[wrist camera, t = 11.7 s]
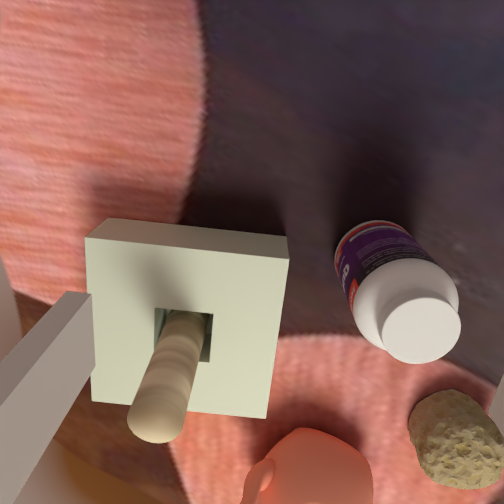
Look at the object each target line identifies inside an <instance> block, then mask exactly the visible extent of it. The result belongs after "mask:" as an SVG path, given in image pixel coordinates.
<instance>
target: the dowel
mask: <svg viewBox="0 0 504 504" xmlns="http://www.w3.org/2000/svg"><path fill="white" fill-rule="evenodd" d="M209 316H210V313H202V312H192V311H183V310H174V309H171V311H170V314H169V316H168V318H167V321H166V323H165V326H164V328H163V330H162V333H161V335H160V338H159V340H158V342H157V345H156V347H155V350H154V352H153V354H152V357H151V359H150V362H149V364H148V367H147V369H146V371H145V374H144V376H143V379H142V381H141V383H140V386H139V388H138V391H137V393H136V395H135V398H134V400H133V403H132V405H131V407H130V410H129V412H128V415H127V422H128V425H129V428H130V429H131V431H132V432H133V433H134V434H135V435H136V436H138V437H139V438H141V439H143V440H145V441H148V442H152V443H164V442H168V441H171V440H173V439H175V438H176V437H177V436H178V435H179V434H180V432H181V431H182V428H183V424H184V420H185V415H186V411H187V407H188V403H189V399H190V395H191V390H192V386H193V382H194V378H195V374H196V370H197V366H198V361H199V357H200V353H201V349H202V345H203V341H204V337H205V332H206V328H207V324H208V320H209Z"/></svg>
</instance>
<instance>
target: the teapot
mask: <svg viewBox="0 0 504 504" xmlns="http://www.w3.org/2000/svg"><path fill="white" fill-rule="evenodd" d="M240 504H373V479H372V473H371V469H370V465H369V463H368V461H367V460H366V458H365V457H364V456H363V455H362V454H361V453H360V452H359V451H357V450H356V449H355V448H353V447H352V446H351V445H349V444H347V443H346V442H344V441H342V440H340V439H338V438H336V437H334V436H332V435H330V434H327V433H325V432H322V431H319V430H316V429H312V428H304V427H297V428H295V429H293V430H292V432H291V433H289V434H288V435H286V436H285V437H284V438H283V439H281V440H280V441H279V442H278V443H277V444H276V445H275V446H274V447H273V448H272V449H271V450H270V451H269V452H268V454H267V455H266V457H265V458H264V459H263V460H262V461H260V462H258V463H257V464H255V465H254V466H253V467H252V468H251V470H250V471H249V473H248V474H247V477H246V479H245V483H244V490H243V498H242V501H241V503H240Z"/></svg>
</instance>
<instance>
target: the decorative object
mask: <svg viewBox="0 0 504 504" xmlns="http://www.w3.org/2000/svg"><path fill="white" fill-rule="evenodd" d="M408 430H409V435H410V441H411V442H412V444H413V445H414V446H415V448H416V452H417V457H418V460H419V463H420V466H421V468H422V469H424V471H425V473H426V475H427V476H429V477H430V478H431V479H432V480H433V481H434V482H436V483H438V484H443V485H445V486H446V485H447V486H450V487H455V488H462V489H473V490H475V489H478V488H484V487H488V486H489V485H490V484H494V483H495V482H496V481H497V480H498V479H500V476H501V473H502V468H503V467H504V437H503V435H502V434H501V432H500V431H499V429H498V427H497V426H496V424H495V423H494V422H493V421H492V419H491V418H489V416H488V415H487V413H486V412H485V411H484V410H483V408H482V407H481V406H480V404H478V403H477V402H476V401H475V400H473V399H472V398H471V397H470V395H468V394H464V393H462V392H460V391H457V390H455V389H449V390H442V391H439V392H436V393H433V394H431V395H430V396H428V397H427V398H424V399H423V400H422V401H420V402H418V403H417V405H416V406H415V408H414V410H413V411H412V413H411V415H410V419H409V425H408Z"/></svg>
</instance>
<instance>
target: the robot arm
mask: <svg viewBox="0 0 504 504" xmlns="http://www.w3.org/2000/svg"><path fill="white" fill-rule="evenodd" d="M95 366H96V365H95V346H94V327H93V309H92V294H89V293H81V292H72V291H66V292H65V294H64V295H63V296H62V297H61V298H60V299H59V300H58V301H57V302H56V303H55V304H54V305H53V306H52V308H51V309H50V310H49V311H48V312H47V313H46V314H45V315H44V316H43V317H42V318H41V319H40V320H39V321H38V323H37V324H36V325H35V326H34V327H33V328H32V329H31V330H30V331H29V332H28V333H27V334H26V335H25V337H24V338H23V339H22V340H21V341H20V342H19V343H18V344H17V345H16V346H15V347H14V348H13V349H12V350H11V352H10V353H9V354H8V355H7V356H6V357H5V358H4V359H3V360H2V361H1V362H0V504H13V503H14V501H15V499H16V498H17V496H18V494H19V492H20V491H21V489H22V487H23V486H24V484H25V483H26V481H27V479H28V478H29V476H30V474H31V473H32V471H33V469H34V468H35V466H36V464H37V463H38V461H39V459H40V457H41V456H42V454H43V453H44V451H45V449H46V447H47V446H48V444H49V443H50V441H51V439H52V438H53V436H54V434H55V433H56V431H57V429H58V428H59V426H60V424H61V423H62V421H63V419H64V418H65V416H66V414H67V413H68V411H69V409H70V408H71V406H72V404H73V403H74V401H75V399H76V398H77V396H78V394H79V393H80V391H81V389H82V388H83V386H84V384H85V383H86V381H87V379H88V378H89V376H90V374H91V373H92V371H93V369H94V368H95ZM488 413H489V414H490V416H491V418H492V419H493V421H494V423H495V424H496V426H497V427H498V429H499V431H500V432H501V434H502V435H503V437H504V374H503V377H502V379H501V381H500V384H499V386H498V388H497V391H496V393H495V395H494V398H493V400H492V402H491V405H490V407H489V409H488Z"/></svg>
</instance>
